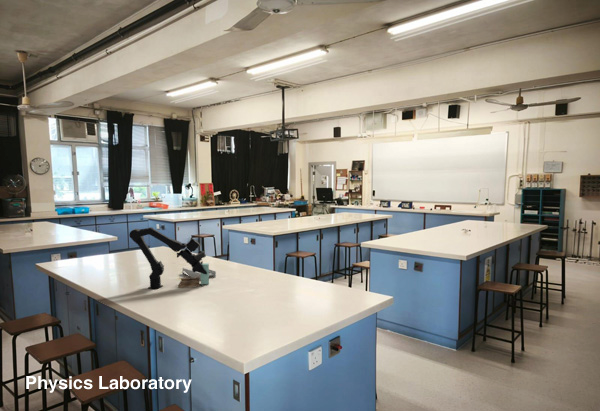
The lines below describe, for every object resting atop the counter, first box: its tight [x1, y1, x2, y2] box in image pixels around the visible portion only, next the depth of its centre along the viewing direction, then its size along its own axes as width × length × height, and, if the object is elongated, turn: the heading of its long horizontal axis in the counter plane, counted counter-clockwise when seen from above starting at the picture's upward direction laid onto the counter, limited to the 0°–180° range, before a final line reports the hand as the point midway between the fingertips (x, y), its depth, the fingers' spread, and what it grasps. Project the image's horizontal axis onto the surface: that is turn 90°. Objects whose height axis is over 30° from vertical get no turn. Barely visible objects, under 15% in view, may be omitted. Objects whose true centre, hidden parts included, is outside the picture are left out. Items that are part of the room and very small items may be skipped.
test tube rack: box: [182, 267, 217, 281], centre depth 243 cm, size 25×4×13 cm
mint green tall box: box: [200, 262, 210, 285], centre depth 222 cm, size 6×4×12 cm, turn 105°
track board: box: [178, 276, 201, 289], centre depth 220 cm, size 12×10×4 cm
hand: (206, 273), depth 222 cm, fingers closed on mint green tall box, 3 cm apart
